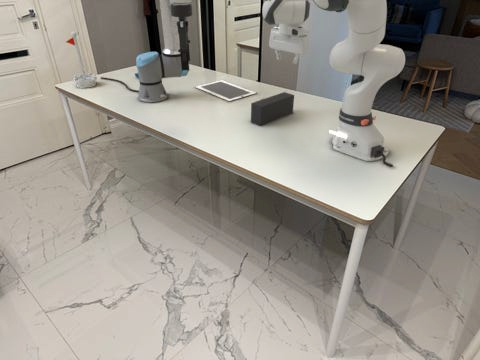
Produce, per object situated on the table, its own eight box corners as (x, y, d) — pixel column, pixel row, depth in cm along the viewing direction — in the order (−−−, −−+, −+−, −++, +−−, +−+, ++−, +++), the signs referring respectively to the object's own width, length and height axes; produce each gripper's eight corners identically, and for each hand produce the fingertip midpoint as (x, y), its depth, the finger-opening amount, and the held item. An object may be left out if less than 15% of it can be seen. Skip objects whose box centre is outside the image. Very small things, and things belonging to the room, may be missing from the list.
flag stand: (97, 80, 212) (85, 28, 195) (98, 86, 202) (85, 32, 185) (75, 83, 208) (61, 30, 191) (74, 89, 198) (59, 34, 181)
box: (283, 109, 171) (284, 92, 166) (292, 113, 167) (294, 95, 162) (250, 121, 158) (251, 103, 153) (260, 126, 154) (261, 106, 149)
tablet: (194, 87, 200) (194, 86, 200) (221, 80, 211) (221, 79, 211) (229, 101, 180) (229, 101, 180) (256, 93, 191) (256, 92, 191)
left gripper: (172, 0, 130) (178, 57, 141) (167, 8, 109) (174, 74, 120) (192, 0, 130) (196, 57, 142) (190, 7, 109) (195, 74, 121)
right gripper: (266, 26, 151) (265, 58, 158) (303, 32, 138) (299, 67, 145) (276, 24, 154) (274, 56, 162) (312, 30, 141) (308, 64, 149)
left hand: (186, 65), depth 131 cm, fingers open, 13 cm apart
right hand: (286, 61), depth 153 cm, fingers open, 8 cm apart
